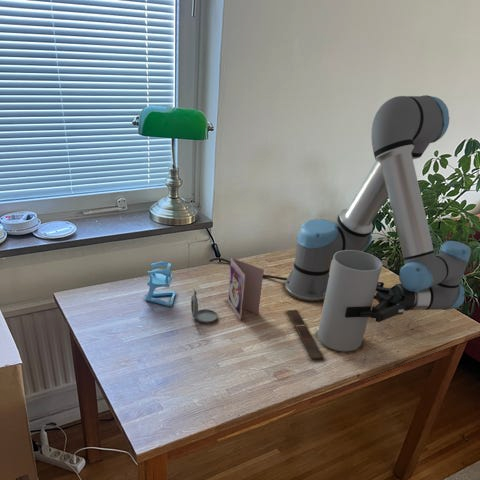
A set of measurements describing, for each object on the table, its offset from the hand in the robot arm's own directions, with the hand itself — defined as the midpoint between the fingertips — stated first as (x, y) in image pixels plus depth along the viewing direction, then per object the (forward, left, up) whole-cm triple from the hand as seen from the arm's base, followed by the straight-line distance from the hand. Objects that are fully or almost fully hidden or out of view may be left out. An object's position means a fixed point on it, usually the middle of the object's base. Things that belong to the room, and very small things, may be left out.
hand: (336, 299), depth 126 cm
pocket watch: (-31, -20, -14) cm, 39 cm away
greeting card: (-27, -7, -14) cm, 31 cm away
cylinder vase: (+2, +3, -14) cm, 14 cm away
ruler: (-6, -3, -13) cm, 15 cm away
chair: (-47, -23, -14) cm, 54 cm away
